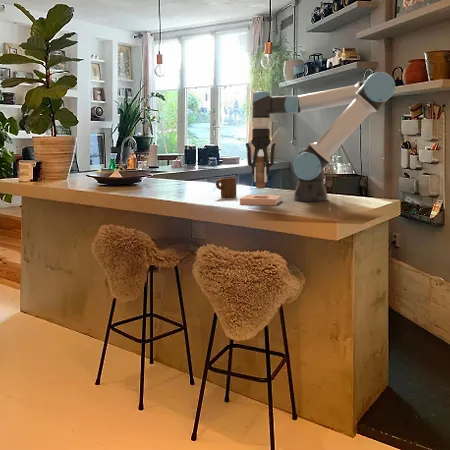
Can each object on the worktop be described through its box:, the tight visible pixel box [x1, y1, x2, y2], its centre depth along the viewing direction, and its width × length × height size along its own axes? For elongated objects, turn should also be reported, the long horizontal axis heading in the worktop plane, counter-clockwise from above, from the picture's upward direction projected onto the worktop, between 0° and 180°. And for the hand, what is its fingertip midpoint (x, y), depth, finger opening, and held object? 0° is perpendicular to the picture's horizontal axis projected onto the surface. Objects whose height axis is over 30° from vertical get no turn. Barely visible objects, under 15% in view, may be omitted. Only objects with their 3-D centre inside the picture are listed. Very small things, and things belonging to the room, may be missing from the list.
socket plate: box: [239, 194, 283, 206], centre depth 235 cm, size 14×16×2 cm
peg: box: [255, 155, 266, 189], centre depth 233 cm, size 4×4×14 cm
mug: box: [215, 176, 237, 199], centre depth 254 cm, size 12×8×9 cm, turn 135°
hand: (260, 181), depth 234 cm, fingers closed on peg, 4 cm apart
